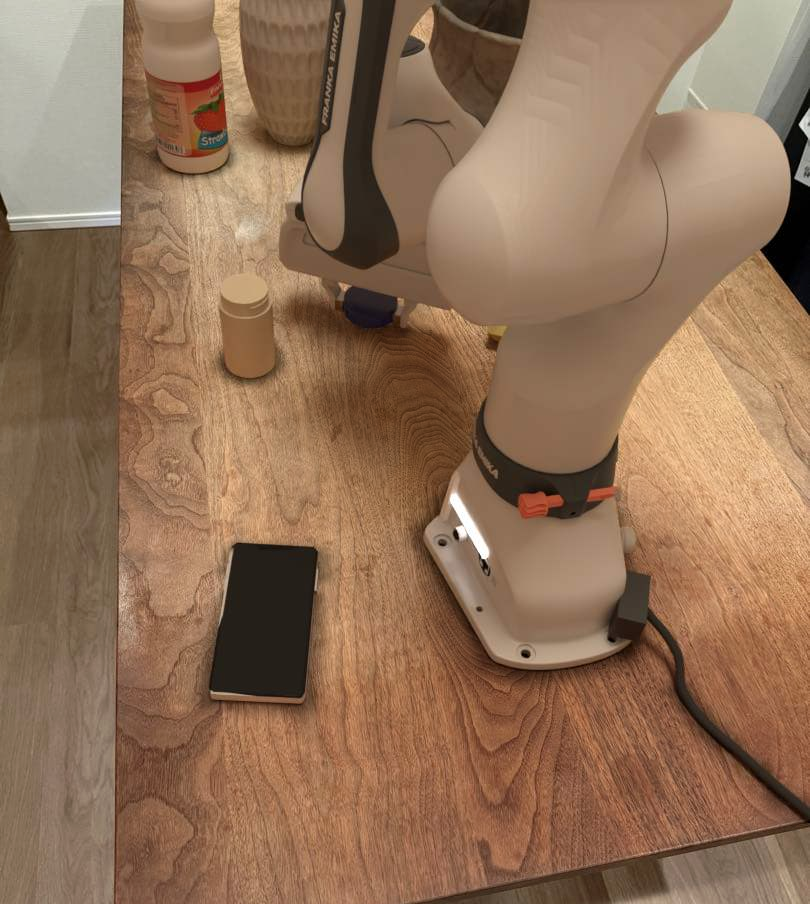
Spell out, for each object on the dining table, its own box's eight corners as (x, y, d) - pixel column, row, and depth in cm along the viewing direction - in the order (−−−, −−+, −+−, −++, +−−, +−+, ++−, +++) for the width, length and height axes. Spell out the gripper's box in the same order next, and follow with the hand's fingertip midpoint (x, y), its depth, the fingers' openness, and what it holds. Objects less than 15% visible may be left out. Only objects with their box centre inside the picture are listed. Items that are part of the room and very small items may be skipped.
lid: (372, 288, 101) (373, 274, 100) (407, 315, 99) (409, 301, 98) (332, 308, 99) (332, 295, 97) (367, 337, 96) (368, 323, 95)
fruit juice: (167, 134, 120) (131, -108, 98) (235, 141, 120) (215, -99, 98) (150, 171, 115) (109, -77, 92) (222, 179, 115) (198, -66, 92)
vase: (355, 145, 122) (363, -91, 100) (275, 168, 117) (264, -75, 95) (309, 103, 128) (306, -129, 105) (230, 123, 123) (210, -116, 100)
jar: (279, 375, 94) (275, 302, 86) (228, 380, 93) (219, 307, 85) (271, 341, 97) (267, 269, 89) (222, 346, 96) (213, 273, 88)
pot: (456, 100, 132) (476, -62, 115) (603, 147, 127) (647, -15, 110) (381, 178, 118) (391, 6, 101) (543, 235, 113) (583, 64, 96)
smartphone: (205, 693, 70) (230, 541, 79) (207, 700, 71) (231, 549, 80) (306, 698, 70) (320, 546, 79) (306, 704, 71) (320, 554, 80)
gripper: (482, 213, 89) (464, 321, 100) (292, 167, 91) (295, 277, 102) (467, 248, 85) (450, 356, 96) (269, 199, 87) (275, 310, 98)
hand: (369, 315), depth 99 cm, fingers closed on lid, 6 cm apart
